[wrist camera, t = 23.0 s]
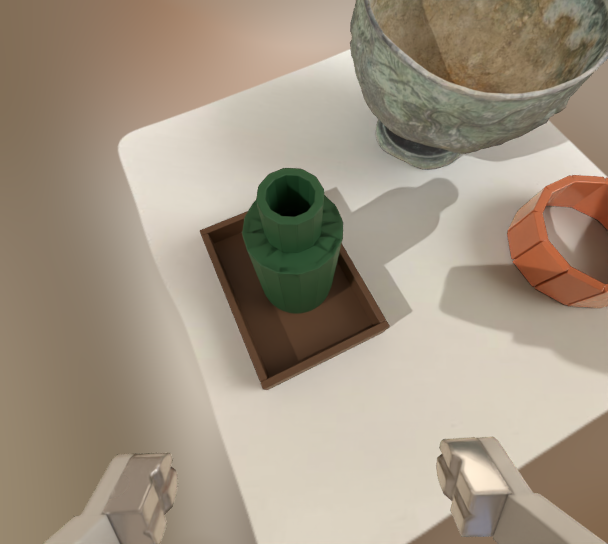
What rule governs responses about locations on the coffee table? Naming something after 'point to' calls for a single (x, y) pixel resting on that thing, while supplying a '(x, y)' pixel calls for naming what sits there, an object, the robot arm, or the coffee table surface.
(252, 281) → the tray
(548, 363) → the coffee table surface
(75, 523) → the robot arm
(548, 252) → the orange ring
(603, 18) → the bowl
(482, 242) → the coffee table surface
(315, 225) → the bottle
